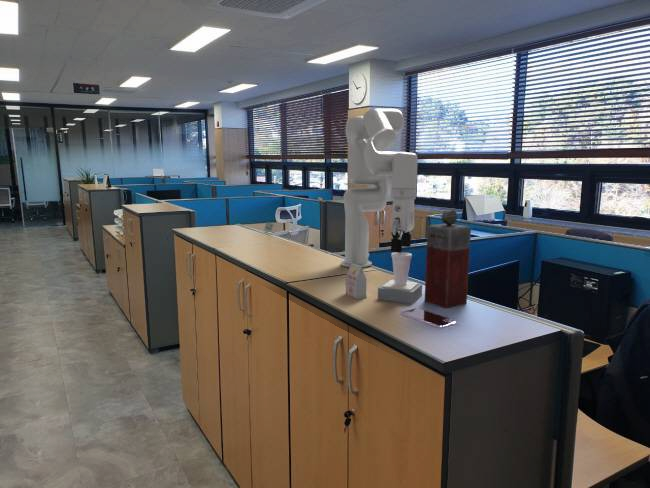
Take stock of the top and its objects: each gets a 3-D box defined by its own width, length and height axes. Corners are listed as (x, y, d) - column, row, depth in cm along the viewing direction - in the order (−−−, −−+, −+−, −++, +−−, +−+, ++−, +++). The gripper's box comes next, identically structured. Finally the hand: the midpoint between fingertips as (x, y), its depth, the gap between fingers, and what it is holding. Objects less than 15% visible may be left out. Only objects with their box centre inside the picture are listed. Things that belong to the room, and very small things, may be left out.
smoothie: (393, 280, 153) (394, 237, 150) (412, 282, 150) (414, 239, 148) (387, 285, 147) (389, 240, 145) (408, 287, 144) (410, 242, 142)
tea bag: (355, 292, 154) (356, 262, 152) (366, 297, 148) (366, 266, 146) (345, 293, 152) (346, 263, 151) (355, 299, 146) (356, 267, 144)
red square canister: (439, 294, 151) (443, 207, 147) (467, 303, 142) (472, 210, 137) (418, 299, 146) (422, 208, 142) (446, 308, 137) (451, 211, 133)
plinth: (388, 290, 156) (389, 278, 155) (421, 294, 151) (422, 282, 151) (377, 299, 146) (378, 286, 146) (412, 303, 142) (413, 290, 141)
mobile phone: (417, 306, 136) (459, 320, 124) (417, 310, 137) (459, 324, 125) (398, 311, 132) (440, 326, 120) (398, 314, 132) (440, 330, 120)
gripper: (407, 197, 134) (404, 255, 138) (422, 192, 150) (419, 245, 153) (382, 195, 138) (380, 253, 141) (399, 191, 153) (397, 243, 156)
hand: (400, 249), depth 147 cm, fingers open, 9 cm apart
